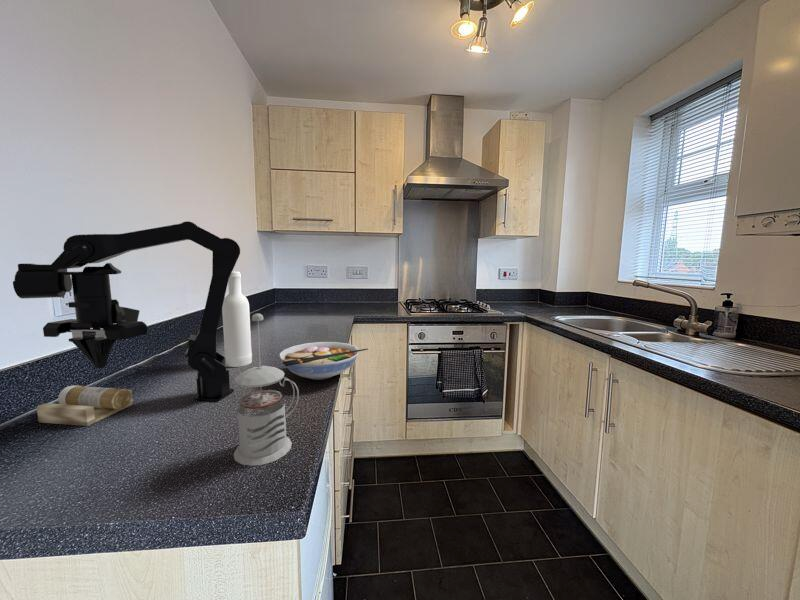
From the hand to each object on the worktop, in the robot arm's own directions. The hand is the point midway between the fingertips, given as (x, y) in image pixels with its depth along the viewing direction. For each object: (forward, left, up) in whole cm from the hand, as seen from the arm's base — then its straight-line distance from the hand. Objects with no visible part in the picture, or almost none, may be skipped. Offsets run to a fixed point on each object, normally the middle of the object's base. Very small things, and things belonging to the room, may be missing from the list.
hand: (101, 367), depth 69 cm
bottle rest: (+4, 0, -10) cm, 11 cm away
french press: (-41, +7, -11) cm, 43 cm away
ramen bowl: (-38, -29, -11) cm, 49 cm away
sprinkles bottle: (-3, -1, -8) cm, 8 cm away
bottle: (-8, -36, -11) cm, 38 cm away
